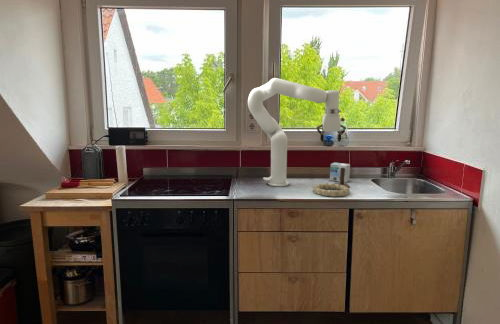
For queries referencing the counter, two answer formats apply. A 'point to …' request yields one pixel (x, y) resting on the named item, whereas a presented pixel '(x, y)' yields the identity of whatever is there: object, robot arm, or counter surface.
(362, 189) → the counter surface
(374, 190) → the counter surface
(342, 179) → the brown peg stand
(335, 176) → the light bulb box
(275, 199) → the counter surface
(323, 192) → the woven wreath ring
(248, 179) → the counter surface
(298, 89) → the robot arm
